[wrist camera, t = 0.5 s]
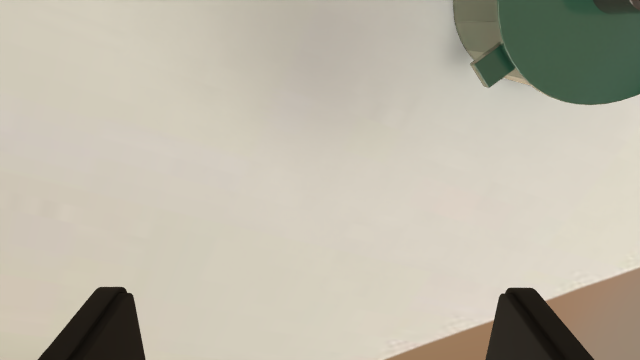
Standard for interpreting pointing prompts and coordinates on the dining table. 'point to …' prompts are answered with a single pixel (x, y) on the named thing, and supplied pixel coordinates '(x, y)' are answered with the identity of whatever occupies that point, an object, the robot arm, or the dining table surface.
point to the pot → (483, 41)
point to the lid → (573, 47)
